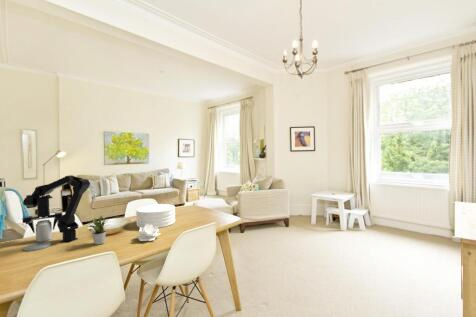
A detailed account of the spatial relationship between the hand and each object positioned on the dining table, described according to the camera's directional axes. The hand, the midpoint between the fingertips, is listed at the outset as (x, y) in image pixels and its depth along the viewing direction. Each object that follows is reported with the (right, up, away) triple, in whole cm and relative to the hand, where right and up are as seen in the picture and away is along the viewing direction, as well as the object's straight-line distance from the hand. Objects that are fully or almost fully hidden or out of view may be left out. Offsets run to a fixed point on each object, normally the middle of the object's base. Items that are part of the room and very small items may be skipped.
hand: (43, 231), depth 145 cm
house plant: (+37, -5, -5) cm, 37 cm away
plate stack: (+57, -5, +36) cm, 67 cm away
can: (0, -6, 0) cm, 6 cm away
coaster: (+6, -6, -11) cm, 14 cm away
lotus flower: (+64, -5, +1) cm, 64 cm away
